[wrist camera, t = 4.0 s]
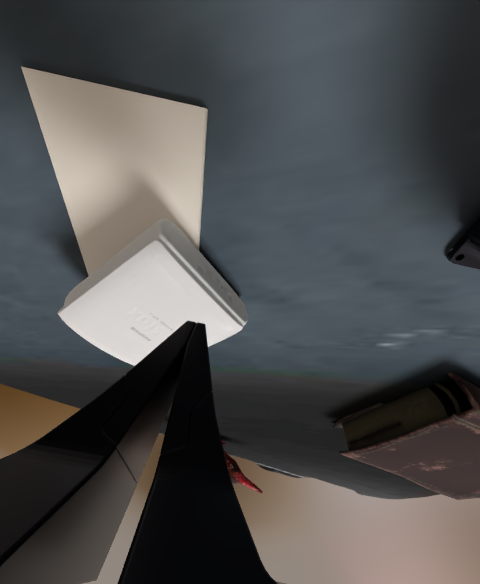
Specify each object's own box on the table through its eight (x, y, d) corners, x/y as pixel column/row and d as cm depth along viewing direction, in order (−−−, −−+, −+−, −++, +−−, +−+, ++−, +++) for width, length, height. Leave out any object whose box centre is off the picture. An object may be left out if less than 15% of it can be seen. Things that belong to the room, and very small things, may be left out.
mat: (207, 109, 11) (206, 108, 11) (195, 314, 21) (193, 317, 21) (27, 68, 11) (20, 66, 11) (98, 294, 21) (95, 297, 21)
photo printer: (251, 336, 16) (142, 385, 20) (247, 301, 20) (155, 349, 23) (150, 230, 11) (28, 324, 15) (170, 208, 14) (66, 288, 18)
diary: (449, 363, 23) (490, 411, 18) (570, 431, 28) (623, 481, 24) (327, 421, 33) (336, 460, 29) (433, 463, 38) (453, 501, 34)
